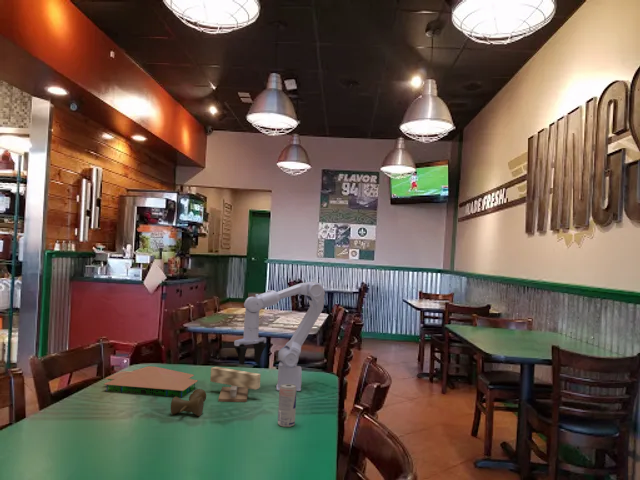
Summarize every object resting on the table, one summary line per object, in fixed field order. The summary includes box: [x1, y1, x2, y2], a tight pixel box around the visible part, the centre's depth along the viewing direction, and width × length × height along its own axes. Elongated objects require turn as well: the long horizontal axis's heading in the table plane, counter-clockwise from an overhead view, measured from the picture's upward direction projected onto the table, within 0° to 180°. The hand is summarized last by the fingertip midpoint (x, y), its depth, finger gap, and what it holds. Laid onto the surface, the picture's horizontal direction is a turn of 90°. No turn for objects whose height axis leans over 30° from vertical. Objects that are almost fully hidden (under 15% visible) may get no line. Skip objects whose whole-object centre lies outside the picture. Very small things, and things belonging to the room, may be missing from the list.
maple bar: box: [210, 366, 261, 390], centre depth 182 cm, size 20×3×5 cm, turn 65°
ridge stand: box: [217, 385, 249, 403], centre depth 182 cm, size 10×16×4 cm, turn 7°
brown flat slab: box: [103, 365, 199, 399], centre depth 188 cm, size 23×33×8 cm
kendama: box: [170, 388, 207, 417], centre depth 161 cm, size 6×10×20 cm
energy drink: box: [277, 384, 297, 428], centre depth 153 cm, size 5×5×12 cm
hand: (249, 362), depth 190 cm, fingers open, 7 cm apart
